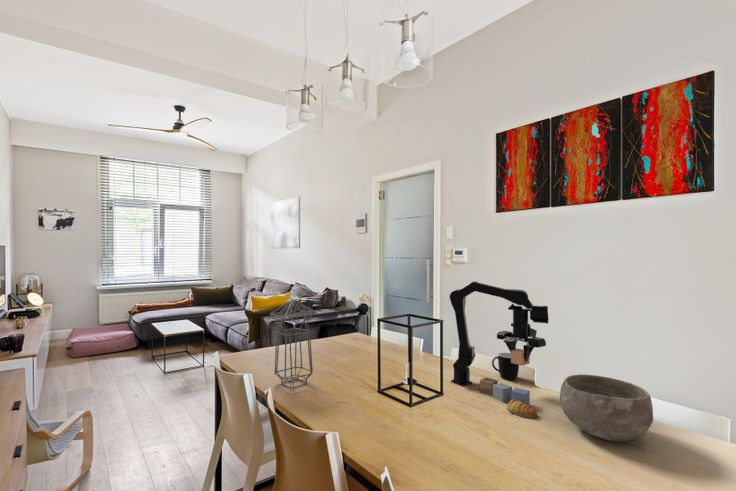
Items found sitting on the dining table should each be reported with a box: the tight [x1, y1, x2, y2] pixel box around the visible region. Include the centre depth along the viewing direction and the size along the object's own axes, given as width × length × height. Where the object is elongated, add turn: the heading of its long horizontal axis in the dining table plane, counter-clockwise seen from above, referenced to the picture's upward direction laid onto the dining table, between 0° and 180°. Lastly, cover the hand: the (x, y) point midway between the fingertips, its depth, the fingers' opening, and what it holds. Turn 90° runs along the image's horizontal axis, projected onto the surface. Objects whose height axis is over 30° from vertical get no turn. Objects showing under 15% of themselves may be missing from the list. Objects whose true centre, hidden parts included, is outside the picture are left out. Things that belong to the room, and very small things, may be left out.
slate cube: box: [492, 382, 513, 403], centre depth 144 cm, size 5×5×5 cm
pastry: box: [507, 399, 538, 419], centre depth 131 cm, size 9×7×4 cm
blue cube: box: [511, 387, 531, 406], centre depth 139 cm, size 5×5×5 cm
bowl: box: [559, 374, 654, 442], centre depth 117 cm, size 24×24×15 cm
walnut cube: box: [479, 377, 499, 397], centre depth 151 cm, size 5×5×5 cm
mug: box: [491, 352, 520, 381], centre depth 170 cm, size 12×9×10 cm
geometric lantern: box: [269, 299, 318, 389], centre depth 159 cm, size 16×16×35 cm
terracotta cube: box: [511, 348, 531, 367], centre depth 153 cm, size 5×5×5 cm
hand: (520, 360), depth 153 cm, fingers closed on terracotta cube, 5 cm apart
